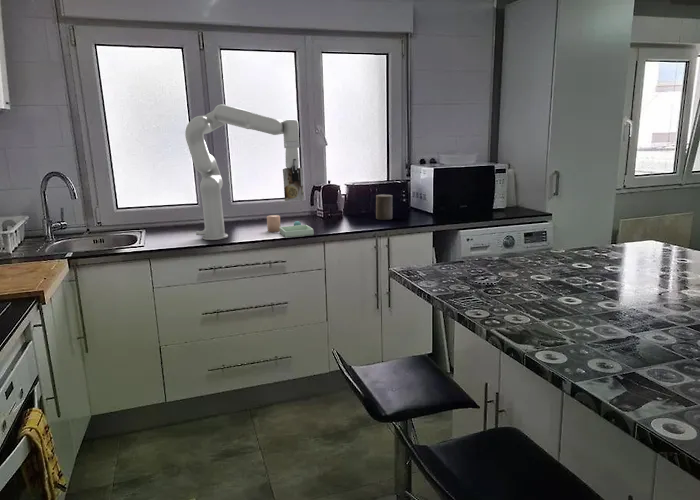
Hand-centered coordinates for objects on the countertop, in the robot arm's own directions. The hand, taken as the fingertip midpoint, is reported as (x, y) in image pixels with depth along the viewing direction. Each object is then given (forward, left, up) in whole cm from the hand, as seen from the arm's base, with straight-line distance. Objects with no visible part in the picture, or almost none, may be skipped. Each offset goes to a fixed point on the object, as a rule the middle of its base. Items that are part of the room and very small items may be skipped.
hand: (293, 180), depth 257 cm
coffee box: (0, 0, -10) cm, 10 cm away
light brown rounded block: (-9, +14, -28) cm, 32 cm away
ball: (+4, +15, -28) cm, 32 cm away
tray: (0, 0, -28) cm, 28 cm away
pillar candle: (+58, +22, -28) cm, 68 cm away
